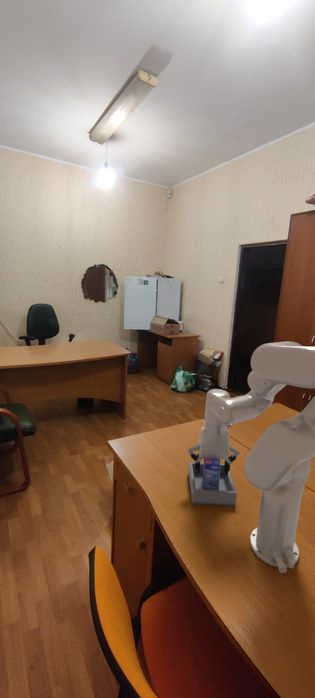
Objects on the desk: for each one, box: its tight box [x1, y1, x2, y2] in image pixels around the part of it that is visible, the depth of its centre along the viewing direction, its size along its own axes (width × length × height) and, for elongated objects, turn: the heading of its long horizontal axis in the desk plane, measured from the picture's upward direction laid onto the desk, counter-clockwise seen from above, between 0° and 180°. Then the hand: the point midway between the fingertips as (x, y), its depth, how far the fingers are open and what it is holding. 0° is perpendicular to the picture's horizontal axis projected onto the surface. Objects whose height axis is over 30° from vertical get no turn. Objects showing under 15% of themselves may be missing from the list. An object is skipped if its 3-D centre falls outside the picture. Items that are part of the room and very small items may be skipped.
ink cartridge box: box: [203, 458, 221, 490], centre depth 103 cm, size 10×6×14 cm, turn 172°
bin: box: [187, 461, 238, 508], centre depth 105 cm, size 16×14×5 cm
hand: (211, 471), depth 104 cm, fingers open, 9 cm apart
